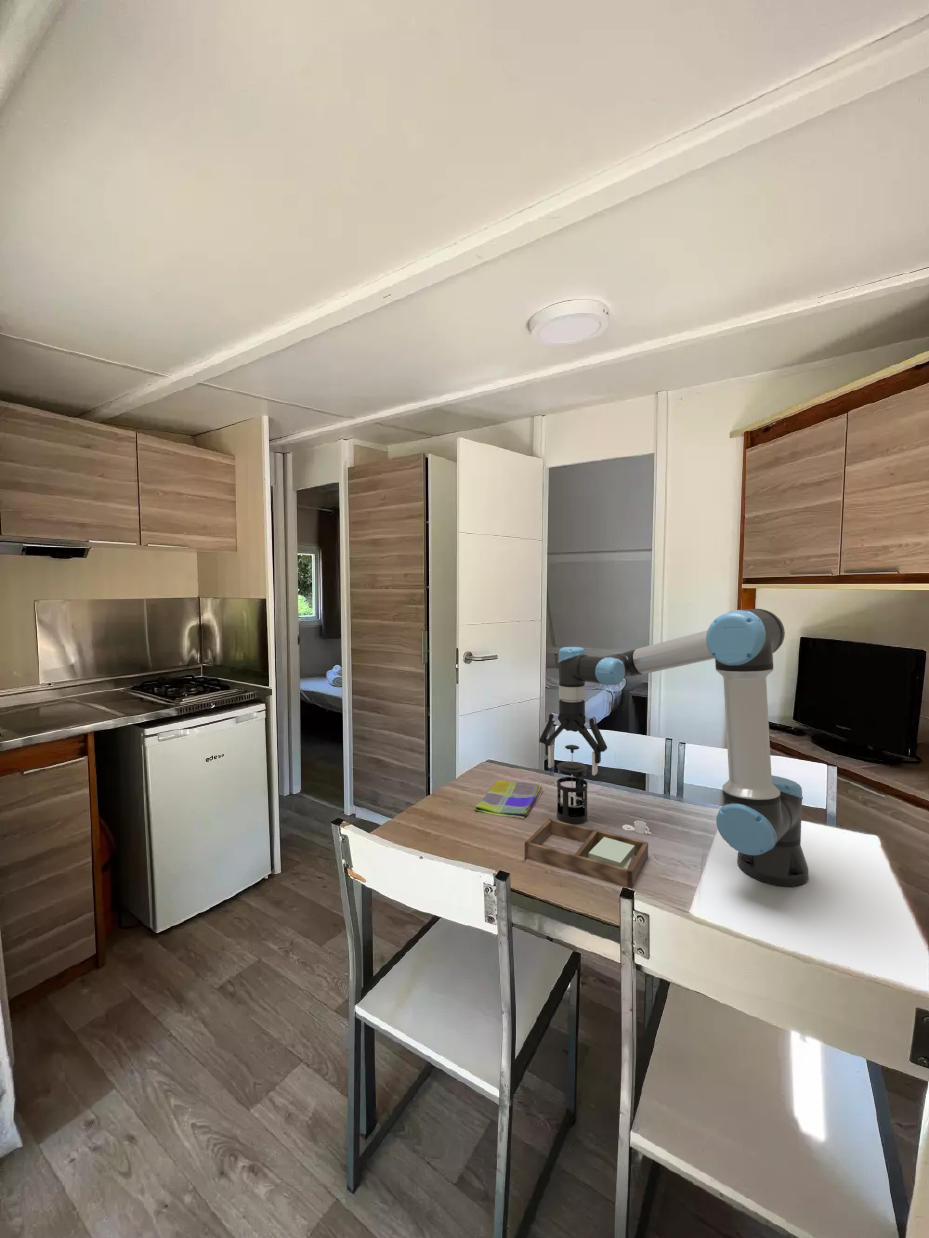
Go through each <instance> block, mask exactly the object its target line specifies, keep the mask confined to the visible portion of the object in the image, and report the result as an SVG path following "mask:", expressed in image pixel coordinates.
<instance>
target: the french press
mask: <svg viewBox="0 0 929 1238" xmlns="http://www.w3.org/2000/svg"><path fill="white" fill-rule="evenodd" d="M564 748H565V749H567V750H569V751H570V753H571V760H570V761H568V760H567V761H562V762H561V761H560V762H559V763H557V764H556V768H557V769H558V771H557V773H558V775H559V774H562V773H563V772H566V773H569V774H571V776H565V777H561V778H558V779H557V780H556V787H557V789H556V790H557V793H556V794H557V799H556V801H557V807H556V818H557V819H556V820H557V821H560V822H564V823H569V824H573V825H577V826H579V825H583V824H585V823H589V819H588V787H589V786H588V785H589V784H588V781H587V780H586V779H584V777H586V775H587V770H588V765H587V764H585V763H583V762H579V761H574V759H573V758H574V756H573V754H574V751H575V750H579V749H580V746H578V745H576V744H567V745H565V746H564ZM564 782H571V787H568V786H564V785H561V783H564ZM573 782H575V787H574V783H573ZM561 791H562V795H561ZM569 793H571V794H569ZM574 793H575V794H574Z"/></svg>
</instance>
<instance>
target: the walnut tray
mask: <svg viewBox="0 0 929 1238" xmlns="http://www.w3.org/2000/svg"><path fill="white" fill-rule="evenodd" d="M551 835H553V836H556V837H561V838H565V839H569V840H571V841H572V840H573V841H575V842H576V841H577V842H580V843H582V844H581V845H580V847H579V849H577V851H576V852H575V853H574V854H573V853H570V852H565V851H562V850H559V849H555V848H551V847H548V846H544V845H543V844H544V843H545V841H547V840H548V838H550V836H551ZM603 837H606V838H610V839H613V840H617V841H620V842H624V843H627V844H631V845H634V846H635V853H634V859H633V862H632V864H631V866H630V867H629V869H626V868H622V867H618V866H614V865H611V864H607V863H603V862H600V861H596V860H592V859H589V852H590V851H591V850H592V849H593V848H594V847H595V846H596V845H597V844H598V843H599V842H600V841H601V840H602V839H603ZM648 858H649V842H647V841H642V840H640V839H639V840H638V839H636V838H635V839H634V838H630V837H626V836H622V835H618V834H613V833H609V832H606V831H601V830H598V829H593V828H588V827H584V826H581V825H573V824H569V823H564V822H561V821H559V820H557V819H556V820H555V819H552V818H548V819H547V820H546V821H545V822H544V823H543V824H542V825H541V826H540V827H539V828H538V829H537V830H536V831H535V832H534V833H533V834H532V835H530V837H529V838H528V839H527V840H526V841H525V842H524V862H526V861H527V859H529V860H531V861H536V862H539V863H543V864H545V865H550V866H553V867H557V868H560V869H563V870H567V871H571V872H574V873H577V874H581V875H584V876H588V877H591V878H594V879H599V880H601V881H605V882H609V883H612V884H615V885H618V886H619V885H620V886H622V887H625V888H628V887H629V889H633V887H634V885H635V883H636V882H637V879H638V877H639V875H640V873H641V871H642V869H643V868H644V866H645V864H646V862H647V860H648Z"/></svg>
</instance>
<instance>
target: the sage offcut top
mask: <svg viewBox="0 0 929 1238" xmlns="http://www.w3.org/2000/svg"><path fill="white" fill-rule="evenodd" d="M634 853H635V846H634V845H631V844H627V843H624V842H620V841H617V840H613V839H610V838H606V837H603V839H602V840H601V841H600V842H599V843H598V844H597V845H596V846H595V847H594V848H593V849H592V850H591V851H590V852H589V857H588V858H589V859H592V860H596V861H600V862H603V863H607V864H611V865H614V866H618V867H622V868H623V867H624V866H625V865H626V863H627V862H628V861H629V860H630V858H631V857H632V856H633V855H634Z"/></svg>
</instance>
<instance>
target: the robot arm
mask: <svg viewBox="0 0 929 1238" xmlns="http://www.w3.org/2000/svg"><path fill="white" fill-rule="evenodd" d="M785 634H786V631H785V627H784V624H783V622H782V621H781V619H780V618H779V617H778V616H777V615H776V614H775V613H774V612H772V611H769V610H766V609H762V608H749V609H737V610H730V611H728V612H726V613H723V614H721V615H719V616H717V617H716V618H715V619H714V620H713V621H712V622H711V623H710V624H709V627H708V629H707V630H703V631H700V632H697V633H696V632H695V633H693V634H689V635H684V636H681V637H677V638H673V639H669V640H666V641H662V642H658V643H654V644H651V645H648V646H647V645H646V646H643V647H639V648H636V649H632V650H629V651H623V652H620V653H614V654H608V655H602V656H596V655H586V653H585V648H584V647H581V646H580V647H579V646H564V647H561V648H560V649H559V651H558V661H557V663H558V680H559V682H558V698H559V699H560V700H558V714H557V713H555V712H552V713H550V714H549V715H548V721H547V723H546V725H545V728H544V729H543V731H542V734H541V736H540V737H539V740H538V742H539V743H541V744H543V745H544V746H545V747H544V748H545V750H544V751H545V753H544V754H545V756H547V762H548V763H547V764H548V765H547V768H551V769H552V767H554V766H555V745H554V744H553V741H554V740H556V739H557V737H558V736H559V735H560V734H561V733H562V732H563V731H564V730H565V731H566V732H570V731H571V732H575V733H576V732H578V733H579V734H580V735H581V736H582V737H583V738H584V739H585V741H586V742H587V743H588V745H589V746H590V748H591V749H592V750H593V751H592V753H591V775H592V776H596V775H597V774H598V772H599V771H598V770H599V769H598V766H599V764H600V763H601V761H602V758H601V757H602V756H601V755H602V754H601V753H604V752H605V751H606V750H607V749H608V746H607V743H606V741H605V739H604V736H602V733H601V731H600V728H599V727H598V725H597V718H596V717H595V716H592V717H586V701H585V700H584V699H585V698H586V697H585V696H586V694H585V693H586V692H585V691H586V689H585V687H586V686H585V685H586V682H587V683H592V684H599V685H604V686H618V685H620V684H621V682H623V680H624V679H629V678H635V677H638V676H642V675H646V674H651V673H655V672H659V671H664V670H668V669H674V668H679V667H682V666H688V665H691V664H696V663H697V664H698V663H701V662H705V661H709V660H714V664H715V671H716V672H717V673H718V674H719V675H721V676H722V679H723V691H724V692H723V693H724V710H725V711H724V712H725V723H726V724H725V730H726V747H727V763H728V780H727V781H726V782H724V784H723V785H722V786H721V787H722V790H721V791H722V805H723V806H722V807H720V809H718V812H717V814H716V820H715V822H716V823H715V824H716V828H717V831H718V833H719V835H720V837H721V838H722V839H723V840H724V841H725V842H726V843H727V844H728V845H729V847H731V848H732V849H733V850H735V851H737V858H736V861H737V862H736V863H737V867H739V869H740V870H741V871H742V872H743V873H745V874H746V875H747V876H748V877H749V876H750V877H751V878H753V879H755V880H757V881H760V882H763V883H765V884H769V885H773V886H778V887H791V888H792V887H799V886H803V885H804V884H807V882H808V880H809V866H808V863H807V860H806V857H805V854H804V851H803V848H802V846H801V842H802V841H801V840H802V839H801V837H802V813H803V811H802V810H803V800H804V797H803V788H802V786H801V785H800V784H799V783H797V782H796V781H794V780H791V779H789V778H786V777H781V776H777V775H772V763H771V758H772V757H771V746H770V745H771V744H770V743H771V742H770V741H771V740H770V725H769V707H768V705H769V704H768V689H767V677H768V676H769V675H770V674H771V673H772V672H773V671H774V653H776V652H777V651H778V650H779V649H780V648H781V646H782V645H783V643H784V640H785V638H786V637H785V636H786V635H785ZM556 721H559V723H560V724H559V726H558V727H557V728H556V729H555V730H554V732H553V733H552V734H551V735H550V736H549V734H550V732H551V730H552V728H553V726H554V724H555V722H556ZM586 723H587V725H588V726H589V727H590V731H591V732H592V734H593V735H592V734H591V733H590V732H589V730H588V728H587V727H586V725H585V724H586ZM548 736H549V737H548ZM593 736H594V737H593Z"/></svg>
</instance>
